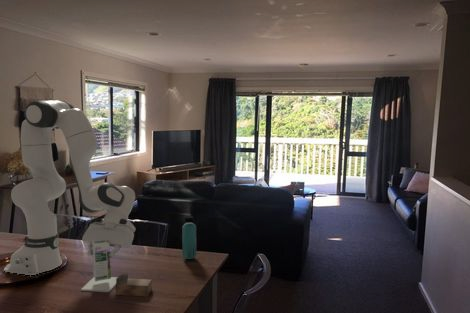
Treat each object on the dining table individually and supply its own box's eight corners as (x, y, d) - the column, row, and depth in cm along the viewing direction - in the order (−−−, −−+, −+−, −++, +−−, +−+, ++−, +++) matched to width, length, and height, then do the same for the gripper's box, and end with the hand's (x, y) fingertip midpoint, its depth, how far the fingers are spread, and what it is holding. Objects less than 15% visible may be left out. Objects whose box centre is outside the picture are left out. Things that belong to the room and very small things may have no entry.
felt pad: (81, 290, 137) (81, 289, 137) (94, 277, 148) (94, 276, 148) (109, 292, 136) (109, 290, 136) (121, 278, 147) (121, 277, 147)
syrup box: (94, 282, 138) (93, 244, 136) (93, 275, 143) (91, 239, 141) (110, 279, 140) (109, 242, 138) (108, 272, 145) (107, 237, 144)
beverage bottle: (194, 262, 163) (194, 219, 161) (180, 261, 165) (179, 218, 162) (198, 257, 170) (198, 215, 167) (184, 255, 171) (184, 214, 169)
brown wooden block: (115, 294, 134) (115, 279, 134) (121, 288, 139) (120, 273, 138) (147, 296, 133) (147, 280, 133) (152, 289, 138) (151, 274, 137)
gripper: (88, 217, 148) (72, 249, 140) (133, 221, 143) (120, 255, 135) (95, 225, 153) (81, 256, 145) (139, 229, 148) (127, 261, 140)
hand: (100, 255), depth 140 cm, fingers closed on syrup box, 8 cm apart
